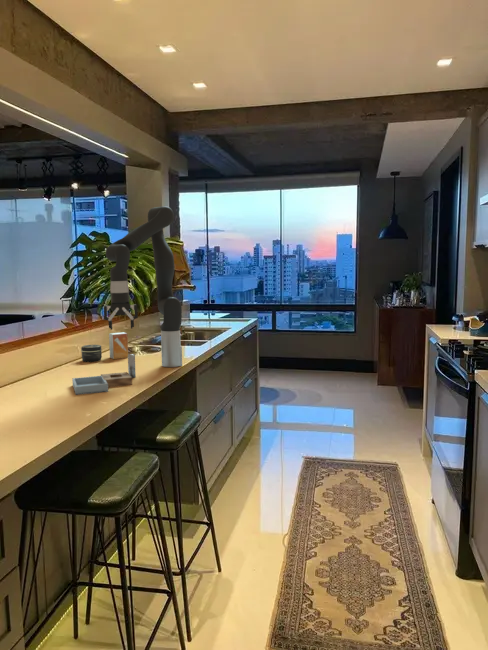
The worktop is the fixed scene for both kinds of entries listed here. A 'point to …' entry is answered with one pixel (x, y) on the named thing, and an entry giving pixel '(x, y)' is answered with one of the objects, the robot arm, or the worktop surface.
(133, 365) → the pin
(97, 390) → the tray
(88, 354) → the jar
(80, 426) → the worktop surface
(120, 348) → the small box
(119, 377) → the plate
